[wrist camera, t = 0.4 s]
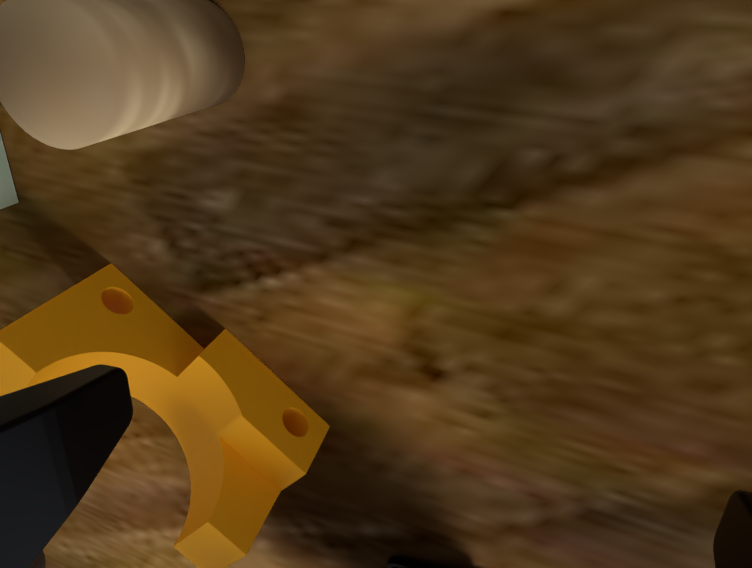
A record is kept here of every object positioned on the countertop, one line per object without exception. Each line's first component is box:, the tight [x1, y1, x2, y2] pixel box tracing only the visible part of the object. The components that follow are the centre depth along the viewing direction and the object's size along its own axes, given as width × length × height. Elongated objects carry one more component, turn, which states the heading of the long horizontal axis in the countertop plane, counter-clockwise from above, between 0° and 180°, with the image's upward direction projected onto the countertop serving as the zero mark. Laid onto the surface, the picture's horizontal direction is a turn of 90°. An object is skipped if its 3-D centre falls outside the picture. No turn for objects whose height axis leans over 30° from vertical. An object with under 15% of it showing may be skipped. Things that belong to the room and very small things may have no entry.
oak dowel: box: [0, 0, 245, 149], centre depth 17 cm, size 4×4×7 cm
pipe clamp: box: [0, 263, 330, 568], centre depth 24 cm, size 12×4×6 cm, turn 46°
